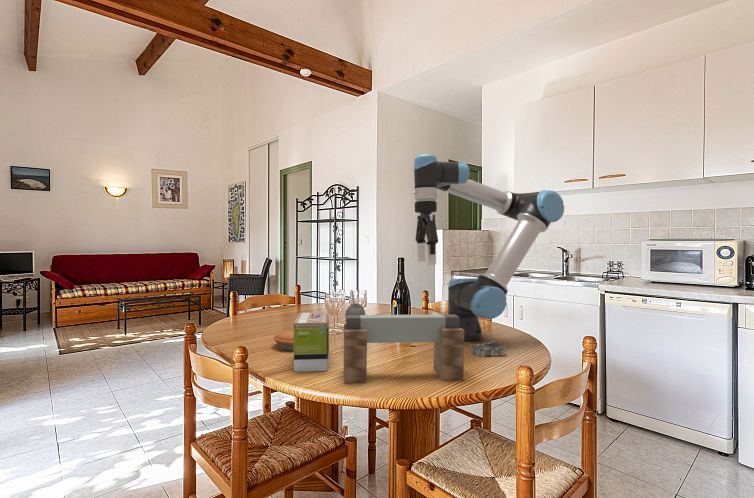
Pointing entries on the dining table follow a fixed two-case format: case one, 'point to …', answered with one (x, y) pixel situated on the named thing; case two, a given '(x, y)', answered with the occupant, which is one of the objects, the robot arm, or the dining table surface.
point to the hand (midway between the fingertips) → (426, 262)
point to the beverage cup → (355, 309)
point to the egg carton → (488, 348)
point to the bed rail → (402, 327)
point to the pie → (285, 340)
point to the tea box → (311, 342)
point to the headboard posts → (445, 355)
